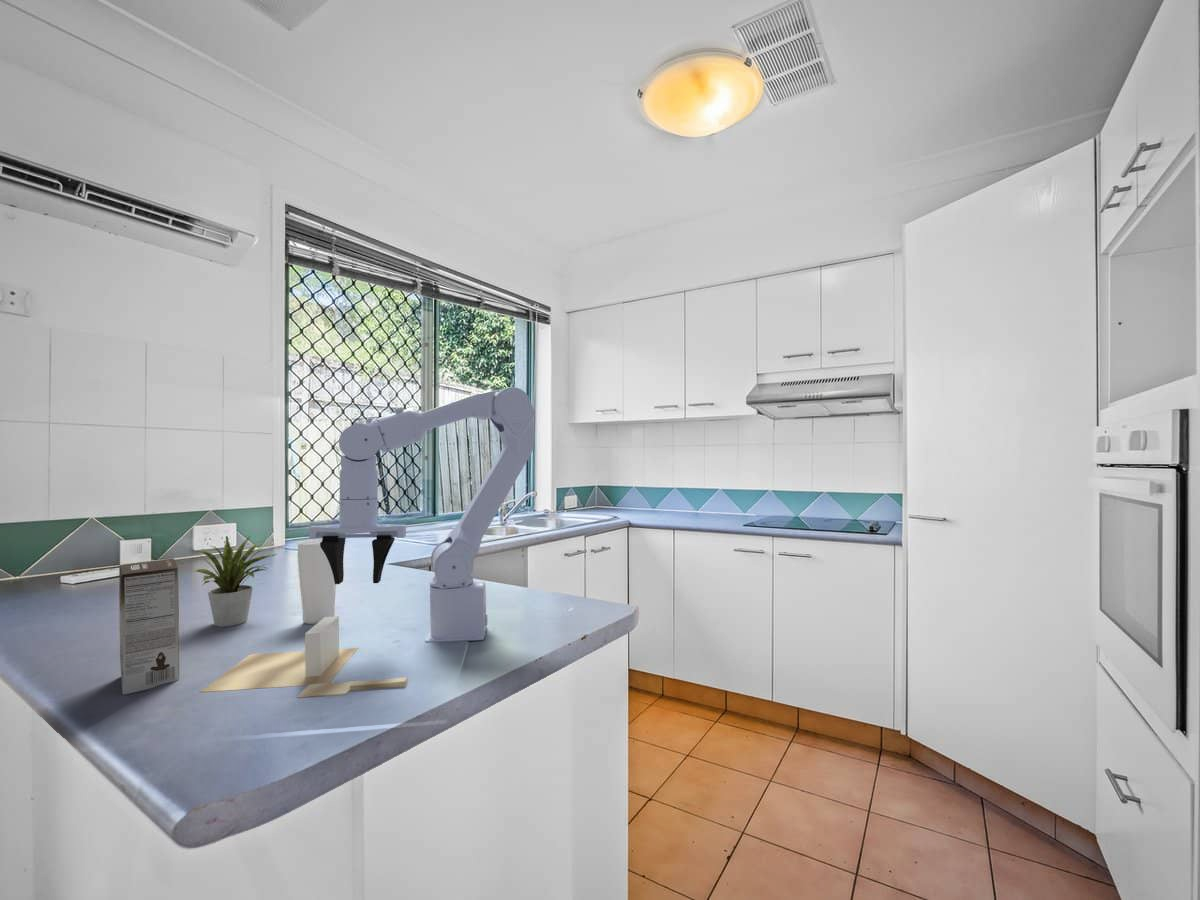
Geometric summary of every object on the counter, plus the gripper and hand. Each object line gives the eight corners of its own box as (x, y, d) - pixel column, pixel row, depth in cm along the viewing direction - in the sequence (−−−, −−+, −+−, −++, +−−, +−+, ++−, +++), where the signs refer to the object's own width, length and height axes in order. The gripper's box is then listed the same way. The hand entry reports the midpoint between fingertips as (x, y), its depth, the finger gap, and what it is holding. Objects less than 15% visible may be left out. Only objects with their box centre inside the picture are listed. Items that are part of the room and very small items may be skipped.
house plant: (241, 636, 98) (240, 542, 98) (162, 637, 98) (161, 542, 98) (288, 613, 112) (287, 530, 112) (219, 613, 112) (218, 531, 112)
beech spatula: (409, 680, 78) (409, 673, 78) (403, 693, 74) (403, 685, 74) (308, 689, 76) (308, 681, 76) (297, 702, 72) (296, 694, 72)
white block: (339, 655, 87) (338, 616, 87) (320, 675, 79) (320, 632, 79) (324, 656, 86) (324, 617, 86) (304, 676, 79) (304, 633, 79)
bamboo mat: (358, 650, 90) (358, 647, 90) (328, 686, 76) (328, 683, 76) (250, 656, 88) (250, 654, 88) (199, 695, 74) (199, 692, 74)
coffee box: (119, 676, 81) (118, 563, 81) (175, 664, 85) (174, 557, 85) (121, 696, 74) (119, 573, 74) (181, 682, 78) (180, 566, 78)
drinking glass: (307, 616, 109) (306, 539, 109) (344, 615, 110) (343, 538, 110) (291, 627, 103) (290, 544, 103) (330, 626, 103) (329, 543, 103)
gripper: (409, 496, 97) (409, 576, 97) (320, 497, 95) (319, 578, 95) (401, 499, 90) (400, 585, 90) (304, 500, 88) (303, 587, 88)
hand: (358, 582), depth 92 cm, fingers open, 5 cm apart
